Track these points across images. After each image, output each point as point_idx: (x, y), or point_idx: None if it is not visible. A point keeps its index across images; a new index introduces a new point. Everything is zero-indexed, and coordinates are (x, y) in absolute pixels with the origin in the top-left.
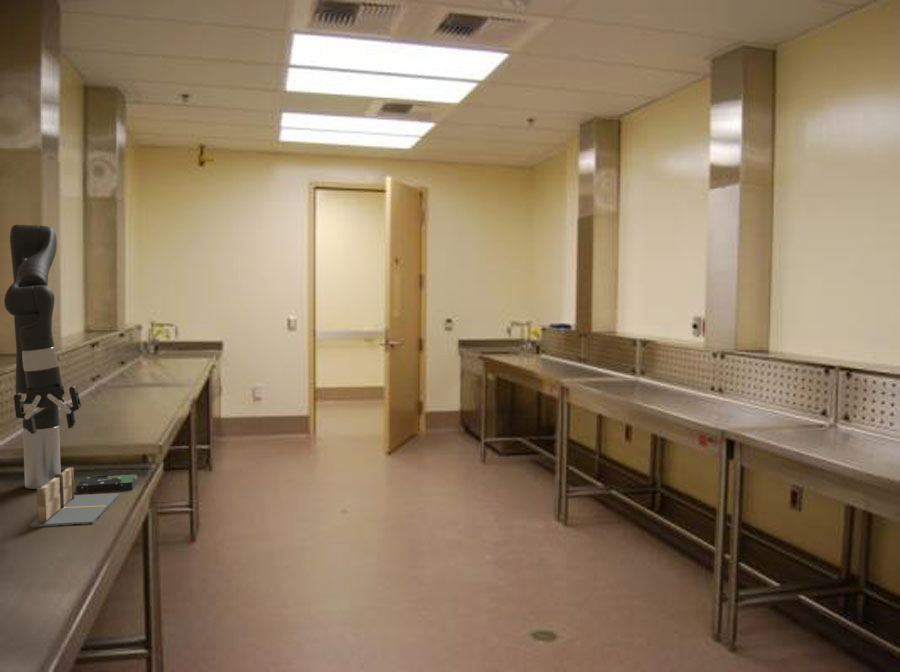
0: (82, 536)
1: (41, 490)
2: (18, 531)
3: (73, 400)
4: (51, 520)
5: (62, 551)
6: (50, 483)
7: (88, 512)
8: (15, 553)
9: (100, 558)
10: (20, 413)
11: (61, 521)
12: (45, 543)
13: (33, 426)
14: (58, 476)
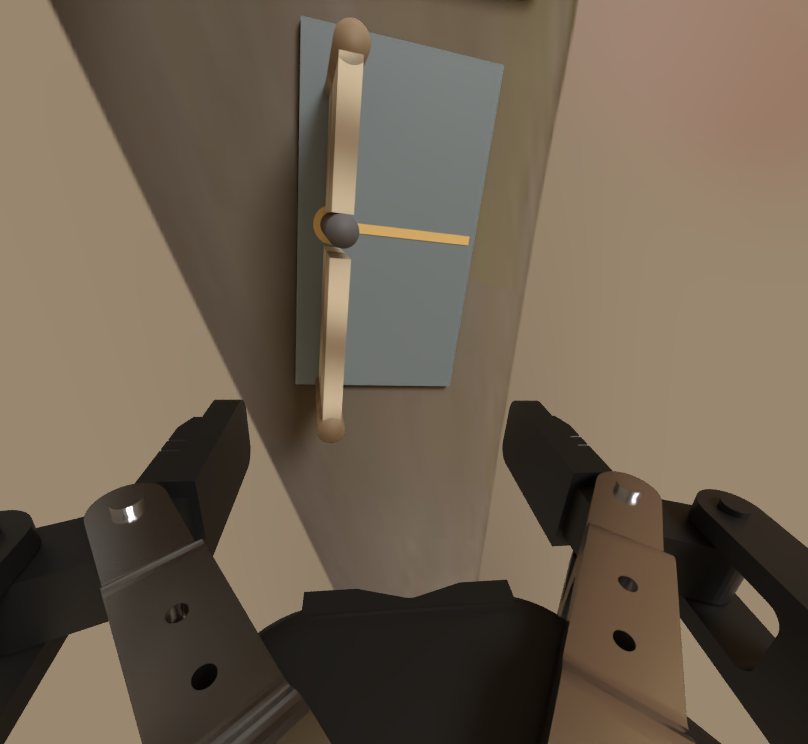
0: (435, 463)
1: (335, 440)
2: (275, 409)
3: (757, 693)
4: None
5: (412, 535)
6: (340, 353)
7: (428, 301)
8: (325, 540)
9: (479, 566)
10: (40, 665)
11: (372, 371)
12: (369, 494)
13: (232, 478)
14: (343, 247)
